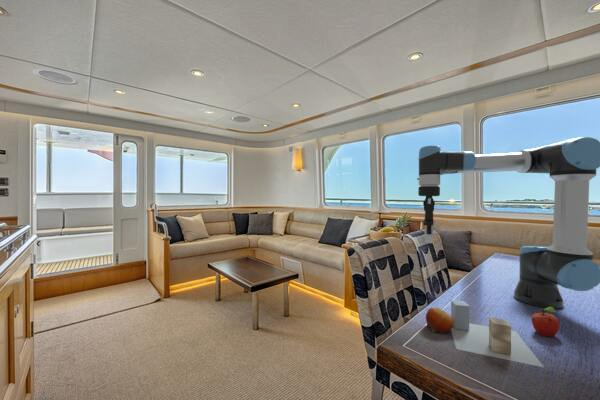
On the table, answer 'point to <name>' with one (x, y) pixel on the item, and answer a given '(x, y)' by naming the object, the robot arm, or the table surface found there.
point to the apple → (545, 323)
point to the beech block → (500, 335)
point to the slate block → (460, 314)
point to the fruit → (439, 320)
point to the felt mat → (479, 343)
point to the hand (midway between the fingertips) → (428, 240)
